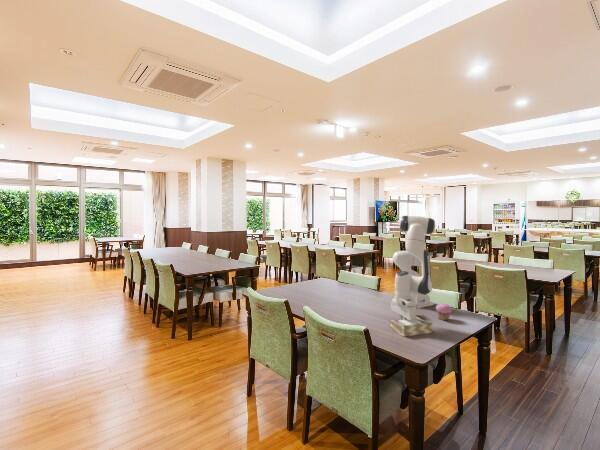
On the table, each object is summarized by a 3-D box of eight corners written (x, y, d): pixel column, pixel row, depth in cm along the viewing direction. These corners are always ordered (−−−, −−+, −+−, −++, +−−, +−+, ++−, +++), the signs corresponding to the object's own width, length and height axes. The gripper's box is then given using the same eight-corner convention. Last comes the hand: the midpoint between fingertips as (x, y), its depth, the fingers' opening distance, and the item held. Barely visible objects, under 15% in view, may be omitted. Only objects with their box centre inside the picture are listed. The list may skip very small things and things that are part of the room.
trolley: (413, 326, 185) (413, 317, 185) (423, 331, 176) (423, 322, 176) (396, 328, 182) (396, 319, 181) (405, 334, 173) (405, 325, 173)
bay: (416, 324, 186) (416, 314, 186) (432, 332, 173) (432, 322, 173) (390, 327, 182) (389, 318, 181) (403, 336, 169) (403, 326, 168)
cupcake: (445, 316, 200) (445, 301, 199) (454, 321, 191) (454, 304, 191) (433, 317, 198) (432, 301, 198) (441, 322, 190) (441, 305, 189)
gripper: (388, 295, 193) (388, 318, 194) (408, 304, 174) (408, 329, 174) (397, 294, 195) (397, 316, 195) (418, 303, 175) (418, 328, 176)
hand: (402, 322), depth 184 cm, fingers closed
